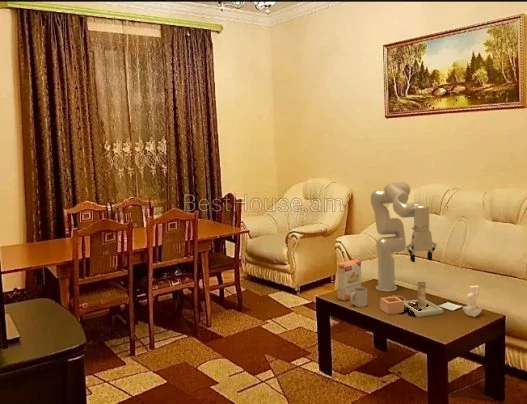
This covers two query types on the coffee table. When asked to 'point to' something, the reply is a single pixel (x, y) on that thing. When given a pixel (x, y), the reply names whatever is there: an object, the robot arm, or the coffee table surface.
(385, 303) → the holder
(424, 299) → the dowel
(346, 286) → the cracker box
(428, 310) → the tray
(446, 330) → the coffee table surface
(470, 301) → the figurine
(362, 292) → the cup
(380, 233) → the robot arm
